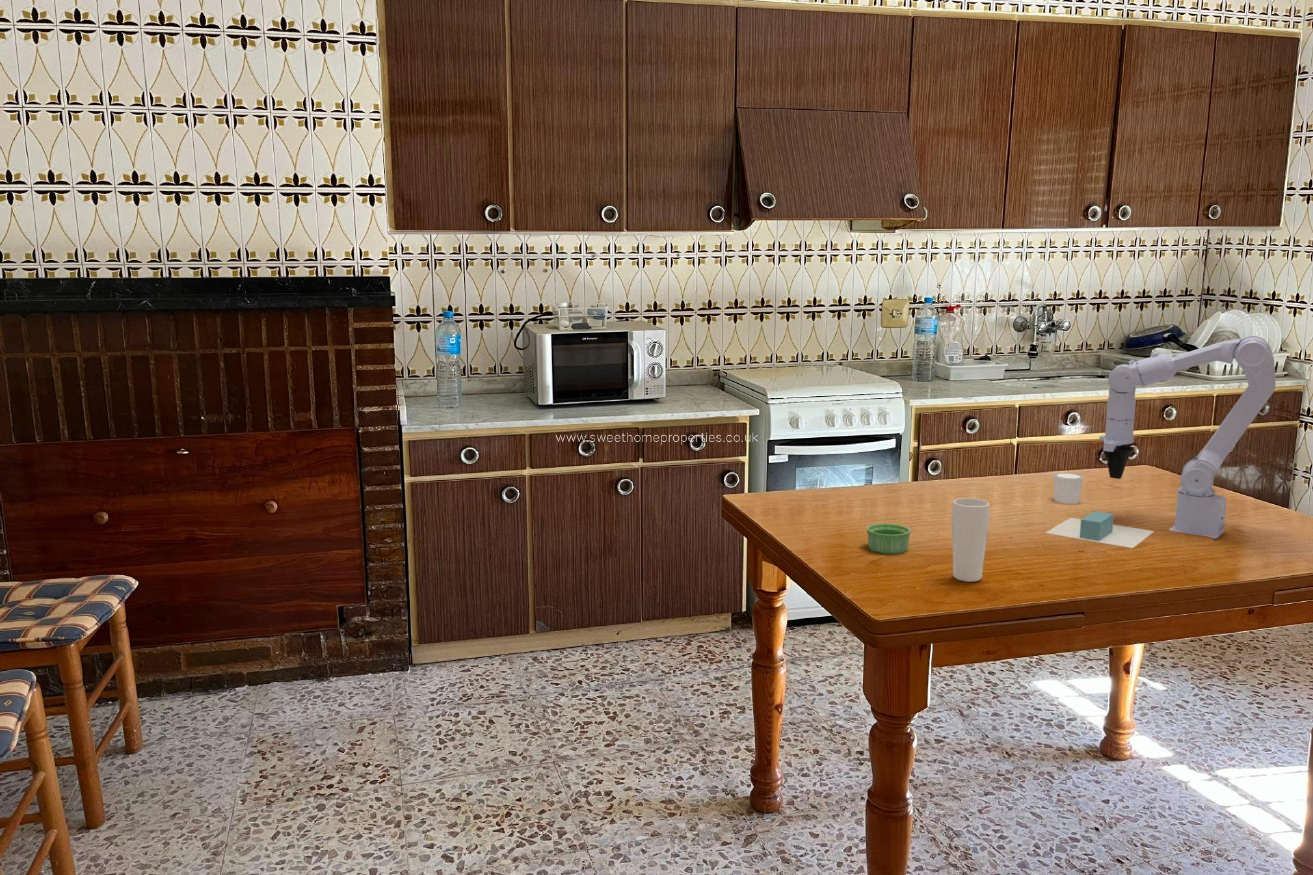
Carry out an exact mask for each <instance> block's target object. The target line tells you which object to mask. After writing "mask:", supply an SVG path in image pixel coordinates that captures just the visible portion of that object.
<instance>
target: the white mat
mask: <svg viewBox="0 0 1313 875" xmlns="http://www.w3.org/2000/svg"><path fill="white" fill-rule="evenodd" d="M1081 519H1082V518H1081ZM1081 519H1080V518H1075V517H1069V518H1068V519H1066V520H1064V521H1062V522H1061V523H1059V524H1056V526H1054V527H1053V528H1051V529H1049V530H1047V531H1045V534H1049V535H1054V536H1059V537H1060V536H1061V537H1066V538H1072V539H1078V540H1083V541H1090V542H1095V543H1099V544H1100V543H1101V544H1107V545H1110V546H1111V545H1112V546H1118V547H1124V548H1130V549H1133V548H1135V547H1136V546H1138V545H1139V544H1140V543H1142V542H1143V541H1144V540H1145V539H1147V538H1148V537H1150V536H1151V535H1152V534H1153V533H1155V530H1151V529H1150V530H1148V529H1143V528H1138V527H1137V528H1136V527H1131V526H1124V525H1117V524H1113V530H1112V532H1111V533H1110V534H1108V535H1107V536H1105V537H1104V538H1102V539H1101V540H1100V541H1097V540H1091V539H1085V538H1080V526H1081Z"/></svg>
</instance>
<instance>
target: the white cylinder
mask: <svg viewBox="0 0 1313 875" xmlns="http://www.w3.org/2000/svg"><path fill="white" fill-rule="evenodd" d="M1084 478H1085V477H1084V476H1083V475H1081V474H1077V473H1071V472H1069V473H1068V472H1058V473H1054V474H1053V500H1054V502H1056V503H1060V504H1063V505H1065V504H1066V505H1075V504H1079V503H1080V500H1081V496H1082V489H1083V485H1084V484H1083V483H1084Z"/></svg>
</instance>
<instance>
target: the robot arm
mask: <svg viewBox="0 0 1313 875" xmlns="http://www.w3.org/2000/svg"><path fill="white" fill-rule="evenodd" d="M1234 360H1235V361H1236V363H1237V364H1238V365H1239V367H1240V368H1241V370H1243V372H1244V375H1245V379H1246V381H1247V385H1248V386H1247V387H1246V389H1245V390H1244V391H1243V393H1242V394H1241V396H1240V397H1239V398H1238V399H1237V401H1236V402H1235V404H1234V405H1233V407H1232V408H1231V409H1230V410H1229V412H1228V414H1227V415H1226V417H1225V418H1224V419H1223V420H1222V422H1221V423H1220V424H1219V426H1218V427H1217V429H1216V430H1215V432H1214V433H1213V435H1212V436H1211V438H1210V439H1209V440H1208V442H1207V443H1206V444H1205V445H1204V447H1203V448H1202V449H1201V450H1200V451H1199V453H1198V454H1197V456H1196V457H1194V458H1193V459H1191V460H1189V461H1187V462H1186V463H1185V464H1184V465H1183V468H1182V473H1181V475H1180V478H1179V481H1180V485H1181V486H1179V487H1178V488H1177V494H1176V495H1177V496H1176V506H1175V508H1176V509H1175V516H1174V517H1175V518H1174V520H1175V521H1174V524H1173V526H1171V527H1170V528H1169V529H1168V531H1172V532H1178V533H1183V534H1190V535H1197V536H1203V537H1209V538H1212V539H1213V540H1216V539H1218V538H1219V537H1220V536H1222V534H1223V533H1224V532H1225V525H1226V524H1225V522H1226V515H1227V514H1226V513H1227V512H1226V511H1227V497H1226V496H1223V495H1219V494H1216V490H1215V489H1214V488H1213V485H1214V481H1215V480H1214V478H1215V476H1216V474H1217V473H1218V471H1219V470H1220V467H1221V465H1222V464H1223V462H1224V461H1225V459H1226V457H1228V455H1229V454H1230V452H1232V449H1234V447H1235V446H1236V444H1237V443H1238V442H1239V440H1240V439H1241V437H1242V436H1243V435H1244V434H1245V432H1246V431H1247V429H1248V428H1249V427H1250V425H1251V424H1252V422H1253V421H1254V419H1255V418H1256V417H1257V415H1258V414H1259V413H1260V411H1261V410H1262V409H1263V408H1264V406H1265V404H1266V403H1267V402H1268V401H1269V399H1270V398H1271V396H1272V395H1273V393H1274V392H1275V390H1276V387H1277V385H1276V370H1275V369H1276V368H1275V357H1274V353H1273V351H1272V349H1271V347H1270V344H1269V342H1267V341H1266V339H1264V338H1263V337H1261V336H1258V335H1249V336H1246V337H1244V338H1242V339H1241V338H1235V339H1234V338H1233V339H1228V340H1224V341H1220V342H1216V343H1213V344H1211V345H1210V344H1209V345H1207V346H1204V347H1200V348H1197V349H1194V350H1191V351H1188V352H1185V353H1182V354H1178V355H1175V356H1172V355H1169V354H1168V353H1164V352H1163V353H1159V352H1158V351H1157V352H1154V353H1152V354H1151V356H1150V357H1146V358H1143V359H1139V360H1136V361H1135V360H1134V359H1132V360H1129V361H1128V364H1125V363H1124V364H1120V365H1116V367H1115V368H1113V369H1112V370H1111V371H1110V372H1109V374H1108V380H1107V381H1108V385H1109V390H1108V397H1107V404H1106V416H1105V417H1106V418H1105V419H1106V420H1105V432H1104V433H1105V434H1104V435H1100V436H1098V437H1099V439H1098V440H1100V441H1103V446H1102V448H1101V449H1102V452H1103V454H1104V456H1105V459H1106V463H1107V467H1108V468H1107V469H1108V474H1109V478H1110V479H1117V480H1120V479H1122V477H1123V474H1124V471H1125V468H1126V464H1127V462H1128V459H1129V457H1130V456H1131V455H1132V453H1133V451H1134V446H1132V445H1131V444H1133V443H1134V439H1135V438H1134V431H1135V430H1134V428H1135V414H1136V402H1137V399H1136V387H1137V386H1140V387H1144V386H1145V387H1146V386H1148V385H1152V384H1156V383H1159V382H1163V381H1167V380H1171V379H1173V378H1174V377H1175V375H1176V374H1177V372H1178V371H1181V370H1185V369H1189V368H1192V367H1197V366H1200V365H1206V364H1209V363H1214V362H1221V363H1226V364H1231V365H1232V364H1233V362H1234Z"/></svg>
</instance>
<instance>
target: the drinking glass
mask: <svg viewBox="0 0 1313 875" xmlns="http://www.w3.org/2000/svg"><path fill="white" fill-rule="evenodd" d="M952 501H953V502H952V508H951V538H952V541H951V542H952V565H953V566H952V576H953V577H954V578H955V579H956V580H958V581H962V582H968V583H971V582H974V583H975V582H978V581H980V580H981V579H982V578H983V568H984V561H985V554H986V547H987V539H988V534H989V533H988V532H989V527H990V526H989V525H990V502H989V501H987V500H984V499H980V498H973V497H962V498H956V499H954V500H952Z"/></svg>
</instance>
